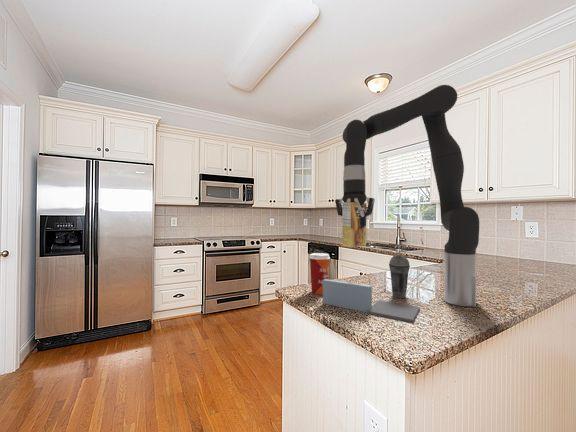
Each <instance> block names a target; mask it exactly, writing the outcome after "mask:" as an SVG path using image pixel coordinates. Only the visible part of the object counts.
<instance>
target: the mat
mask: <svg viewBox="0 0 576 432" xmlns="http://www.w3.org/2000/svg"><path fill="white" fill-rule="evenodd" d="M420 310H421V309H420V306H417V305H411V304H410V305H409V304H404V303H397V302H393V301H392V302H391V301H387V300H386V301H385V300H380V299H378V300H377V301H376V302H375V303H374V304H373V305H372V309H370V310H367V312H366V313H367V315H368V314H369V315H373V316H378V317H383V318H386V319H387V318H389V319H394V320H398V321H402V322H403V321H404V322H408V323H414V322H415V320H416V318H417V317H418V314H419V312H420Z"/></svg>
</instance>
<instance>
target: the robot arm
mask: <svg viewBox="0 0 576 432" xmlns="http://www.w3.org/2000/svg"><path fill="white" fill-rule="evenodd" d="M457 101H458V93H457V90H456V89H455V88H454V87H453V86H451V85H450V84H449V85H448V84H441V85H437V86H436V87H434V88H432V89H431V90H429V91H427V92H425V93H424V94H422V95H420V96H418V97H416V98H413V99H411V100H409V101H406V102H403V103H402V104H399V105H397V106H394V107H391V108H389V109H386V110H383V111H380V112H378V113H375V114H373V115H371V116H370V117H368V118H367V119H366V120H363V121H362V120H361V119H353V120H351V121H350V122H348V123H347V125H346V127H345V128H344V130H343V133H342V140H343V142H344V143H345V144H346V145H345V147H346V149H345V152H344V156H343V173H342V174H343V175H342V176H343V177H342V179H343V190H342V191H343V195H342V197H341V198H336V199H335V201H334V202H335V203H334V204H335V207H336V211H337V215H338V216H341V217H342V203H345V202H356V203H357V208H358V210H359V212H360V214H361V228H364V227H365V226H366V227H367V217H368V216H371V215H372V214H373V210H374V206H375V201H376V199H375V198H374V197H367V195H366V168H365V167H366V166H365V163H366V162H365V150H366V144H367V140H369V139H371V138H373V137H375V136H377V135H382V134H384V133H387V132H390V131H392V130H394V129H397V128H399V127H401V126H402V125H405V124H407V123H408V122H411V121H413V120H415V119H417V118H420V117H421V118H422V122H423V125H424V128H425V131H426V135H427V139H428V141H427V142H428V146H429V150H430V158H431V164H432V168H433V173H434V176H435V182H436V187H437V192H438V198H439V205H440V206H439V208H440V211H439V212H440V220H441V224H442V227H444V229H445V230H446V231H448V240H447V242H446V243H445V244H444V247H443V249H444V250H443V251H444V252H443V253H444V256H443V257H444V262H443V263H444V264H443V265H444V266H443V268H444V269H443V270H444V273H443V279H444V280H443V281H444V283H443V284H444V285H443V286H444V287H443V288H444V289H443V290H444V291H443V293H444V294H443V297H444V298H443V299H444V300H443V301H444V302H445V303H448V304H450V305H454V306H459V307H473V308H475V307H477V303H476V302H477V295H476V294H477V278H476V276H477V273H476V271H477V270H476V268H477V267H476V266H477V264H476V262H477V261H476V260H477V256H476V254H477V253H476V251H477V248H478V246H479V243H480V242H479V241H480V240H479V239H480V218H479V214H478V212H477V211H476V210H475V209H473V208H472V207H469V206H465V205H464V201H463V195H462V185H463V179H464V174H465V172H464V171H465V164H464V159H463V154H462V150H461V147H460V145H459V143H458V142H457V141H456V140H455V138H454V137H453V136H452V135H451V133H450V131H449V129H448V125H447V120H446V113H448V112H449V111H450V110H451V109H453V107H454V106H455V105H456V103H457ZM364 203H367V211H366V212H365V208H364V206H363V208H362V205H363V204H364Z"/></svg>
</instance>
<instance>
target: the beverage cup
mask: <svg viewBox="0 0 576 432" xmlns="http://www.w3.org/2000/svg"><path fill="white" fill-rule="evenodd" d="M388 266H389V271H390V282H391V293H392V297H394V298H397V299H405V298H406V297H407V290H408V279H409V271H410V267H411V266H410V261H409V259H408V258H407V257H406V255H403V254H401V242H398V254H395V255H393V256H392V257H391V258H390V260H389V262H388Z"/></svg>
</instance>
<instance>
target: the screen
mask: <svg viewBox="0 0 576 432" xmlns="http://www.w3.org/2000/svg"><path fill="white" fill-rule="evenodd" d="M372 289H373V287H372V285H370V284H364V283H356V282H349V281H343V280H334V279H329V278H328V279H324V280H323V295H322V304H324V305H328V306H334V307H339V308H344V309H347V310H352V311H359V312H363V313H364V312H365V313H367V310H370V309H372V306H373V305H372V303H373V301H372V300H373V299H372V298H373V297H372V296H373V295H372V293H373V291H372Z"/></svg>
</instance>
